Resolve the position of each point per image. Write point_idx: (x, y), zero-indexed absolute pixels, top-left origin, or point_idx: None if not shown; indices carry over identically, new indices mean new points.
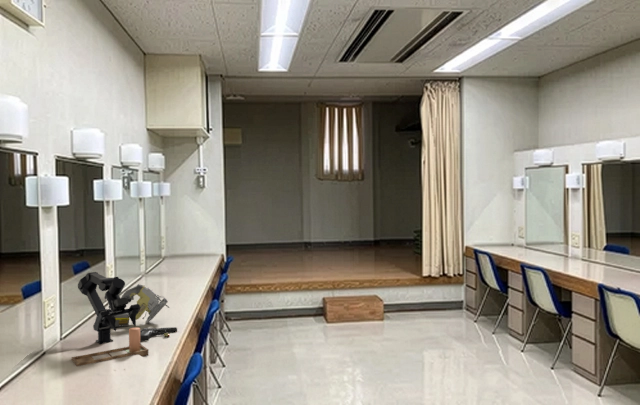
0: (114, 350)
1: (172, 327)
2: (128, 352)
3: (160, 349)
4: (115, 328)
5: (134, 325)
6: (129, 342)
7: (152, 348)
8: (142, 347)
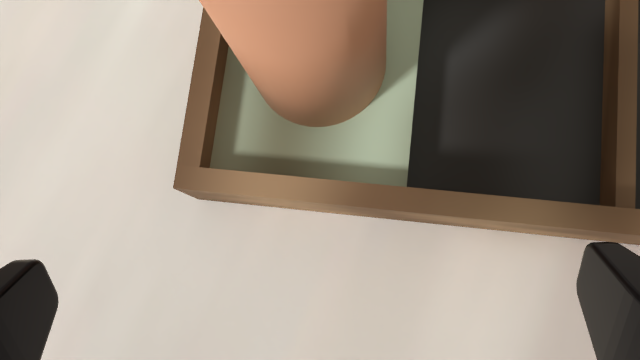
0: (541, 200)
1: None
2: (405, 53)
3: (56, 48)
4: (629, 260)
5: (46, 299)
6: (386, 3)
7: (91, 143)
8: (219, 54)
